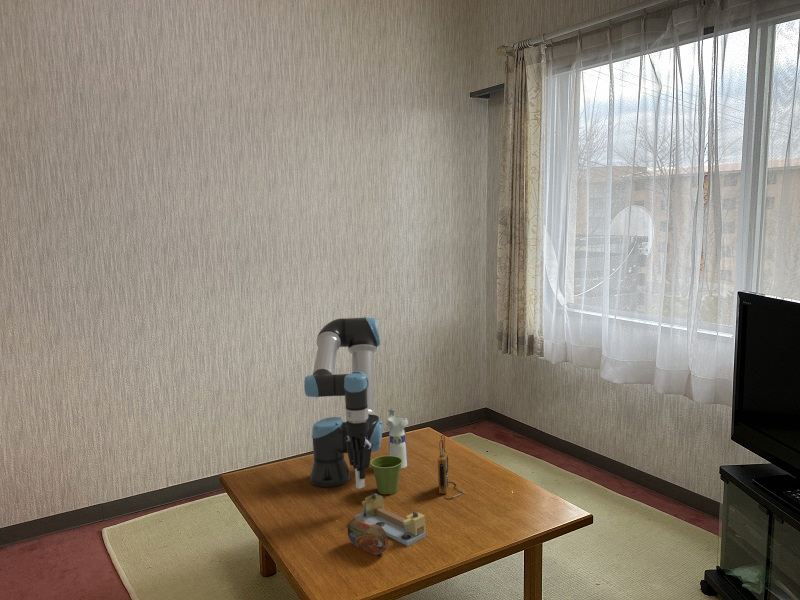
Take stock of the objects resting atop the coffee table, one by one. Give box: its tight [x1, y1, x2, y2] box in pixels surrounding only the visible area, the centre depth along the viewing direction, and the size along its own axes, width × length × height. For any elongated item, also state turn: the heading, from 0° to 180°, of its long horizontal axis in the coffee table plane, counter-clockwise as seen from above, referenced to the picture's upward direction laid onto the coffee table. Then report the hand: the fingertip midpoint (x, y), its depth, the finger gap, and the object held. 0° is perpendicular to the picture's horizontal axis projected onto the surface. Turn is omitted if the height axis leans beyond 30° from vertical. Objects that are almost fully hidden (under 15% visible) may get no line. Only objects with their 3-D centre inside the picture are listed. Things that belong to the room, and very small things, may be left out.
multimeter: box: [437, 434, 467, 500], centre depth 223 cm, size 15×10×20 cm
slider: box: [361, 492, 385, 517], centre depth 206 cm, size 4×7×6 cm, turn 133°
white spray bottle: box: [386, 407, 409, 469], centre depth 248 cm, size 8×9×25 cm
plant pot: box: [370, 455, 403, 495], centre depth 226 cm, size 12×12×11 cm
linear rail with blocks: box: [354, 507, 427, 547], centre depth 199 cm, size 25×8×8 cm, turn 44°
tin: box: [347, 518, 389, 556], centre depth 186 cm, size 15×3×8 cm, turn 48°
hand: (360, 486), depth 211 cm, fingers closed
